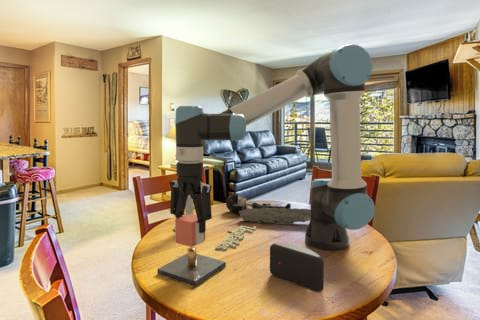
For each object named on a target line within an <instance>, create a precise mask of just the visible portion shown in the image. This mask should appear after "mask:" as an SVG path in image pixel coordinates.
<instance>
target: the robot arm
mask: <svg viewBox="0 0 480 320" xmlns="http://www.w3.org/2000/svg"><path fill="white" fill-rule="evenodd" d="M373 66H374V65H373V60H372V58H371V55H370V53H369V52H368V51H367V50H366V49H365V48H364V47H363V46H360V45H359V44H352V43H350V44H345V45H341V46H337V47H336V48H335V49H334V50H331V51H328V52H326V53H325V54H323V55H321V56H319V57H317V59H315V60H314V61H312V62H311V63H309V64H308V65H306V66H305V67H303V68H300V69H299V70H297V71H296V73H295V75H294V76H291V77H289V78H288V79H286V80H284V81H282V82H280V83H278V84H275V85H274V86H272V87H269V88H268V89H266V90H264V91H262V92H259V93H258V94H256V95H253V96H252V97H250V98H248V99H245V100H244V101H241V102H240V103H238V104H236V105H234V106H232V107H230V108H228V109H226V110H223V111H221V112H219V113H205V112H204V108H203V107H202V106H199V105H180V106H178V107H176V109H175V120H174V121H175V122H174V123H175V145H176V146H175V151H176V152H175V156H176V159H175V160H176V161H177V162H176V164H175V165H176V166H175V168H176V169H175V170H176V172H175V174H176V176H177V179H175V180H170V181H169V186H170V209H169V210H170V214H171V215H174V217H175V219H176V218H179V217H182V216H185V215H186V213H185V211H186V202H187V198H188V195H190V196H191V198H192V199H193V208H194V210H195V214H196V215H197V219H198V221H196V245H195V246H198V245H200V244H202V243H204V242H205V241H204V232H205V233H206V229H207V226H206V222H207V221H209V220H211V219H212V218H213V217H212V216H213V215H212V200H211V199H212V198H211V191H212V188H213V187H212V185H211V184H210V183H209V184H207V183H204V180H203V176H204V175H203V174H204V162H202V161H203V160H204V141H232V142H234V141H242V140H244V138H245V136H246V133H247V126H249V125H251V124H253V123H255V122H257V121H259V120H261V119H263V118H265V117H268V116H270V115H271V114H274V113H275V112H277V111H279V110H281V109H283V108H285V107H287V106H289V105H291V104H293V103H295V102H297V101H299V100H301V99H303V98H305V97H306V98H311V97H313V96H315V95H318V94H321V93H323V96H324V98H326V99H327V100H328V101H329V123H330V124H329V126H330V128H329V129H330V156H331V157H330V159H331V178H315V179H313V180H312V181H311V185H310V210H311V218H310V221H309V222H308V226H307V229H306V231H305V234H304V241H305V243H306V244H307V245H308V246H311V247H313V248H316V249H321V250H327V251H328V250H329V251H330V250H331V251H336V250H343V249H345V248H347V247H348V246H349V243H350V239H349V234H348V231H347V230H351V231H353V230H354V231H356V230H360V229H362V228H364V227H366V226H367V225H368V224H369V222H371V221H372V219H373V217H374V215H375V210H376V208H375V203H374V200H373V199H372V198H371V197H370V196H369V195H368V184H367V182H366V180H364V179H363V178H362V153H361V152H362V150H361V149H362V148H361V147H362V146H361V142H362V141H361V108H360V107H361V105H360V104H361V102H360V101H361V98H362V96H363V95H364V94H365V93H366V82H367V81H369V79H370V78H369V77H371V75H372V72H373Z"/></svg>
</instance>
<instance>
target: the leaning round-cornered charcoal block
mask: <svg viewBox="0 0 480 320" xmlns="http://www.w3.org/2000/svg"><path fill="white" fill-rule="evenodd" d="M269 273H270V274H271V275H272V276H274V277H276V278H279V279H281V280H283V281H287V282H289V283H291V284H294V285H298V286H300V287H303V288H306V289H307V290H311V291H313V292H316V293H321V292H322V291H323V290H324V285H325V283H324V282H325V279H324V277H325V276H324V275H325V260H324V258H323V256H322V255H320V254H319V253H317V252H316V251H313V250H312V249H309V248H306V247H304V246H301V245H296V244H289V243H282V242H280V243H279V242H277V243H276V242H274V243H273V244H271V245H270V246H269Z"/></svg>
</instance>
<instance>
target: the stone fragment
mask: <svg viewBox="0 0 480 320" xmlns="http://www.w3.org/2000/svg"><path fill="white" fill-rule="evenodd" d="M238 214H239V216H240V219H242V220H243V221H244V222H253V223H255V222H257V223H258V224H263V223H269V224H271V223H272V224H273V225H287V226H291V225H293V224H294V223H297V222H300V223H301V222H302V223H307V222H310V218H311V209H308V208H296V207H295V208H289V209H286V208H263V209H262V208H261V209H254V208H253V209H244V210H241V211H239V213H238Z"/></svg>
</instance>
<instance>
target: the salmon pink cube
mask: <svg viewBox="0 0 480 320" xmlns="http://www.w3.org/2000/svg"><path fill="white" fill-rule="evenodd" d="M174 221H175V225H174V227H175V231H174V232H175V243H176V244H178V245H183V246H187V247H189V248H190V247H195V246H197V245H196V221H198V219H197V215H195V214H194V215H192V214H188V215H186V214H185V215H182V217H179V218H176V217H175V220H174ZM205 241H206V231H205V232H204V242H205Z"/></svg>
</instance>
